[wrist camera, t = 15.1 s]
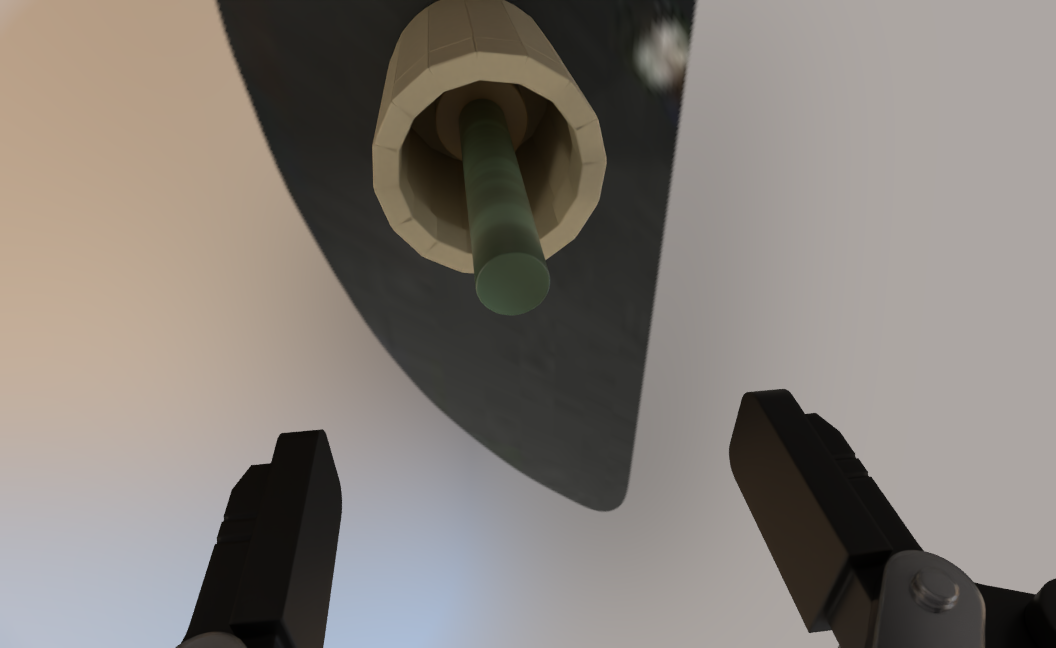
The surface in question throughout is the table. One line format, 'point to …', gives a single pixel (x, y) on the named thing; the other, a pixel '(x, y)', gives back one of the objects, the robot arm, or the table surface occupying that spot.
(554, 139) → the jar
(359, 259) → the table surface
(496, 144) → the brush
